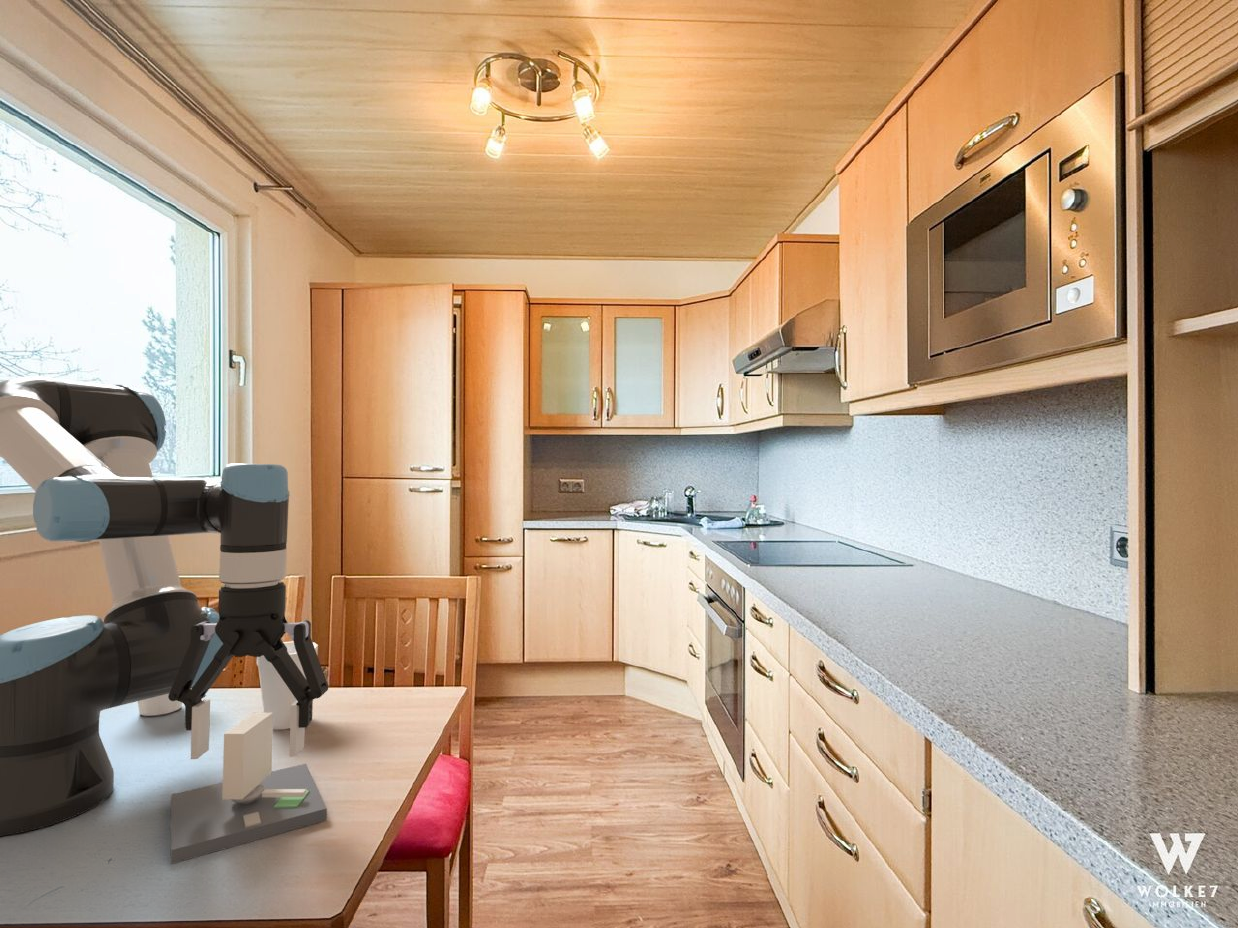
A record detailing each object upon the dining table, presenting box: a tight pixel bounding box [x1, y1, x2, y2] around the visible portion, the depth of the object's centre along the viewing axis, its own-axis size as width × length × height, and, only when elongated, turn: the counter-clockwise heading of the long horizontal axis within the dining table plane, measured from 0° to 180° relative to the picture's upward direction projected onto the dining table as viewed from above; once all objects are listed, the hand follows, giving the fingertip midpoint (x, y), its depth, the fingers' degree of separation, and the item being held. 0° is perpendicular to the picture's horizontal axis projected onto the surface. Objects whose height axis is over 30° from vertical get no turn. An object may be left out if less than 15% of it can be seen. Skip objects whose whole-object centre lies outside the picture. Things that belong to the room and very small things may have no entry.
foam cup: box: [256, 640, 319, 731], centre depth 111 cm, size 10×9×13 cm
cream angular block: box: [222, 712, 306, 804], centre depth 81 cm, size 7×9×10 cm
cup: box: [137, 694, 183, 717], centre depth 115 cm, size 10×10×13 cm
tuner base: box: [170, 763, 328, 864], centre depth 81 cm, size 16×15×2 cm
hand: (248, 753), depth 81 cm, fingers open, 11 cm apart
